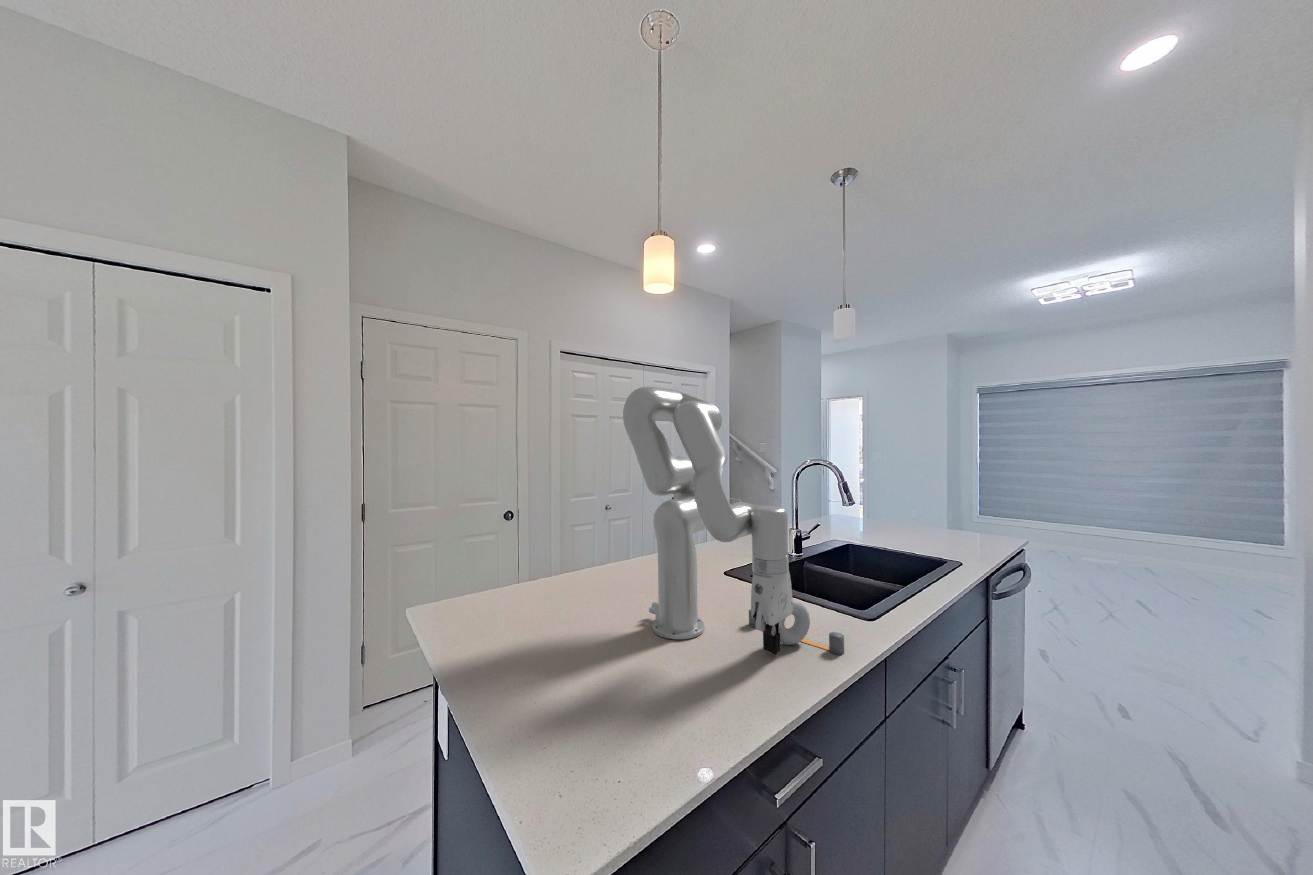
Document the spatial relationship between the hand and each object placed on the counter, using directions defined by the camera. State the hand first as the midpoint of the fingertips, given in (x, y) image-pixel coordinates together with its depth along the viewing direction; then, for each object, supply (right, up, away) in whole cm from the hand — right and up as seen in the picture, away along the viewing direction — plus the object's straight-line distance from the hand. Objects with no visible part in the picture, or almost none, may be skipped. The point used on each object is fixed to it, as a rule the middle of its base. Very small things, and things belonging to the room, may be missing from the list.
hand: (771, 650), depth 95 cm
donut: (+5, -1, +5) cm, 7 cm away
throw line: (+7, -1, +8) cm, 11 cm away
